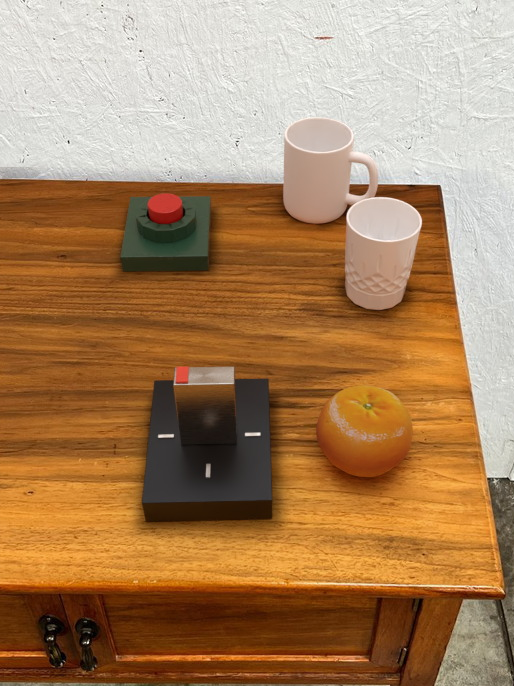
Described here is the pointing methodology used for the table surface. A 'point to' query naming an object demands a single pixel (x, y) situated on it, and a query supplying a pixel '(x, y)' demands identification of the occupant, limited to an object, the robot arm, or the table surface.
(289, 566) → the table surface
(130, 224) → the button block
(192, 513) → the panel
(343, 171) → the cup
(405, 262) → the white cup
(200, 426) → the knob
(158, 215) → the button
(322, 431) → the fruit
